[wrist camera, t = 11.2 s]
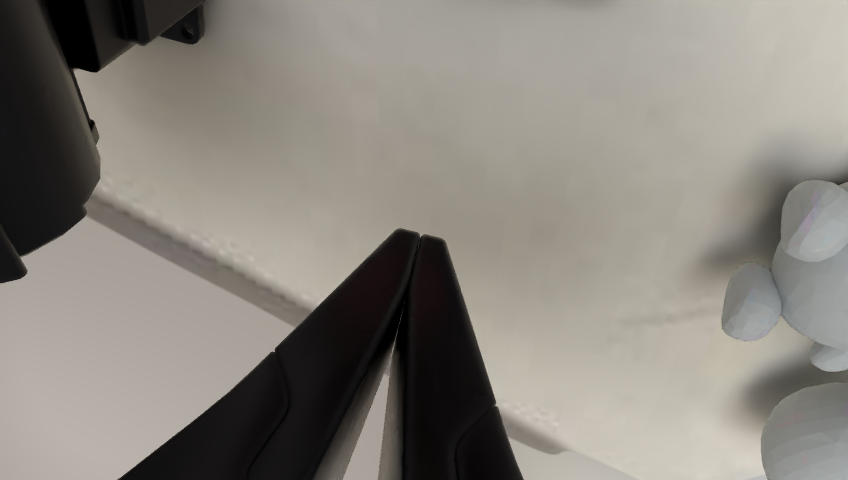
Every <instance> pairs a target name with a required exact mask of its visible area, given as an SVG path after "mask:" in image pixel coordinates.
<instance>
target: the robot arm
mask: <svg viewBox="0 0 848 480" xmlns="http://www.w3.org/2000/svg"><path fill="white" fill-rule="evenodd" d="M204 1H205V0H0V283H5V282H9V281H13V280H17V279H21V278H22V277H24V276H25V275H26V274H27V269H26V267H25V266H24V264H23V262H22V260H21V258H20V257H23V256H26V255H28V254H30V253H32V252H33V251H35V250H37V249H39V248H40V247H42V246H44V245H46V244H48V243H50V242H51V241H53V240H55V239H57V238H58V237H60V236H62V235H63V234H65V233H66V232H67V231H68V230H69V229H71V228H72V227H73V226H74V225H75V224H77V223H78V222H79V221H80V220H81V219H82V218H84V217H85V215H86V214H87V209H86V207H85V203H86V202H87V201H88V199H89V197H90V195H91V194H92V192H93V190H94V188H95V187H96V185H97V183H98V181H99V180H100V156H99V153H98V150H97V147H96V144H97V142H98V139H99V133H98V131H97V128H96V125H95V122H94V121H93V120H91V119H90V118H89V115H88V112H87V109H86V106H85V103H84V101H83V98H82V95H81V92H80V89H79V86H78V83H77V80H76V78H75V75H74V72H73V71H74V70H76V69H82V70H86V71H89V72H98V71H100V70H101V69H102V68H104V67H105V66H106V65H108V64H109V63H111V62H112V61H113V60H115V59H116V58H117V57H119V56H120V55H122V54H123V53H124V52H126V51H127V50H128V49H130V48H131V47H132V46H134V45H135V44H138V45H141V46H145V45H147V44H148V43H149V42H151V41H152V40H153V39H155V38H156V37H157V36H161V37H164V38H168V39H172V40H175V41H179V42H182V43H186V44H195V43H197V42H198V41H199V40H201V39H202V37H203V36H204V21H203V9H202V2H204ZM185 25H187V26H189V27H190V28H191V29H192V31H193V34H191V33H189V32H188V31H187V30H186V27H185ZM419 241H420V242H419ZM418 245H419V246H418ZM417 249H418V250H417ZM416 253H417V254H416ZM415 257H416V258H415ZM404 302H405V303H404ZM403 306H404V307H403ZM402 310H403V311H402ZM401 314H402V315H401ZM400 318H401V319H400ZM399 322H400V323H399ZM398 326H399V327H398ZM397 330H398V332H397ZM396 335H397V336H396ZM395 339H396V340H395ZM394 342H395V345H394ZM393 346H394V349H393ZM392 349H393V355H392V362H391V369H390V378H389V387H388V396H387V405H386V413H385V422H384V431H383V440H382V449H381V457H380V466H379V475H378V480H524V479H523V477H522V474H521V472H520V470H519V467H518V465H517V462H516V460H515V457H514V454H513V451H512V448H511V445H510V442H509V440H508V437H507V434H506V431H505V428H504V425H503V422H502V418H501V415H500V412H499V409H498V407H497V406H495V405H496V400H495V397H494V394H493V391H492V387H491V384H490V381H489V378H488V375H487V371H486V368H485V365H484V362H483V359H482V356H481V352H480V349H479V346H478V343H477V340H476V336H475V333H474V330H473V327H472V324H471V321H470V317H469V314H468V311H467V308H466V305H465V301H464V298H463V295H462V292H461V289H460V286H459V282H458V279H457V276H456V273H455V270H454V267H453V263H452V260H451V257H450V254H449V251H448V247H447V244H446V242H445V240H444V239H442V238H439V237H434V236H430V235H426V234H424V235H422V236H421V238H420V234H419V233H418V232H414V231H410V230H406V229H402V228H399V229H397V230H395V231H394V232H393V233H392V234H391V235H390V236H389V237H388V238H387V239H386V240H385V241H384V242H383V243H382V244H381V245H380V246H379V247H378V248H377V249H376V250H375V251H374V252H373V253H372V254H371V255H370V256H369V257H368V258H367V259H366V260H365V261H364V262H363V263H362V264H360V265H359V266H358V267H357V268H356V269H355V270H354V271H353V272H352V273H351V274H350V275H349V276H348V277H347V278H346V279H345V280H344V281H343V282H342V283H341V284H340V285H339V286H338V287H337V288H336V289H335V290H334V291H333V292H332V293H331V294H330V295H329V296H328V297H327V298H326V299H325V300H324V301H323V302H322V303H321V304H320V305H319V306H318V307H317V308H316V309H315V310H314V311H313V312H312V313H311V314H310V315H309V316H308V317H307V318H306V319H305V320H304V321H302V322H301V323H300V324H299V325H298V326H297V327H296V328H295V329H294V330H293V331H292V332H291V333H290V334H289V335H288V336H287V337H286V338H285V339H284V340H283V341H282V342H281V343H280V344H279V345H278V346H277V347H276V348H275V352H271V353H270V354H269V355H268V356H267V357H266V358H265V359H264V360H262V361H261V362H260V363H259V364H258V366H256V367H255V368H254V369H253V370H252V371H251V372H250V373H249V374H248V375H247V376H246V377H245V378H243V379H242V380H241V381H240V382H239V383H238V384H237V385H236V386H235V387H234V388H233V389H232V390H230V392H228V393H227V394H226V395H225V396H224V397H222V398H221V399H220V400H218V401H217V402H216V403H215V404H214V405H212V406H211V407H210V408H209V409H208V410H206V411H205V412H204V413H203V414H201V415H200V416H199V417H198V418H197V419H195V420H194V421H193V422H191V423H190V424H189V425H187V426H186V427H185V428H184V429H183V430H181V431H180V432H178V433H177V434H176V435H175V436H173V437H172V438H171V439H169V440H168V441H167V442H166V443H164V444H163V445H162V446H160V447H159V448H158V449H157V450H155V451H154V452H153V453H151V454H150V455H149V456H148V457H146V458H145V459H144V460H142V461H141V462H140V463H139V464H137V465H136V466H135V467H134V468H132V469H131V470H130V471H128V472H127V473H126V474H124V475H123V476H122V477H121V478H119V479H118V480H342V479H343V477H344V474H345V472H346V469H347V466H348V464H349V462H350V459H351V456H352V453H353V451H354V449H355V446H356V444H357V441H358V438H359V436H360V433H361V431H362V428H363V426H364V423H365V420H366V418H367V415H368V413H369V410H370V408H371V405H372V403H373V400H374V397H375V395H376V392H377V390H378V387H379V385H380V382H381V379H382V377H383V374H384V372H385V369H386V367H387V364H388V361H389V358H390V355H391V353H392Z"/></svg>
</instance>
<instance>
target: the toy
mask: <svg viewBox="0 0 848 480" xmlns="http://www.w3.org/2000/svg"><path fill="white" fill-rule="evenodd" d="M780 315H781V316H782V317H783V318H784V319H785V320H786V321H787V323H788V324H789V325H790V326H791V327H793V328H794V329H795V330H796V331H798V332H799V333H801V334H803V335H804V336H806V337H808V338H810V339H812V340H813V341H815V342H816V343H815V344H814V345H813V347H812V349H811V350H810V360H811V363H812V364H813V365H815V366H816V367H817V368H819V369H821V370H823V371H829V372H840V371H843V370H847V369H848V182H846V183H843V184H840V185H836V184H834V183H832V182H827V181H822V180H816V179H814V180H807V181H803V182H801V183H799V184H798V185H796V186H795V187H794V188H793V189H792V190H791V191H790V192H789V193H788V195H787V198H786V200H785V202H784V205H783V207H782V219H781V240H780V242H779V244H778V246H777V249H776V252H775V254H774V257H773V262H772V267H771V270H770V269H769V268H767V267H766V266H764V265H761V264H759V263H753V262H749V263H744V264H742V265H741V266H740V267H739V268H737V269H736V270H735V271H734V273H733V275H732V277H731V279H730V282H729V284H728V287H727V290H726V295H725V301H724V307H723V313H722V319H721V322H722V329H723V330H724V332H725V333H726V334H727V335H729V336H731V337H732V338H735V339H739V340H742V341H755V340H758V339H760V338H761V337H763V336H765V335H767V334H768V333H769V332H770V330H771V329H772V328H773V327H774V326H775V325H776V323H777V321H778V319H779V316H780ZM761 455H762V463H763V467H764V470H765V473H766V476H767V479H768V480H848V382H835V383H826V384H821V385H816V386H810V387H805V388H803V389H801V390H799V391H797V392H795V393H793V394H791V395H789V396H787V397H785V398H783V399H782V400H781V401H780V402H779V403H778V404H777V405H776V406H775V407H774V409H773V410H772V412H771V413H770V415H769V416H768V419H767V421H766V424H765V426H764V429H763V432H762V437H761Z"/></svg>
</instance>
